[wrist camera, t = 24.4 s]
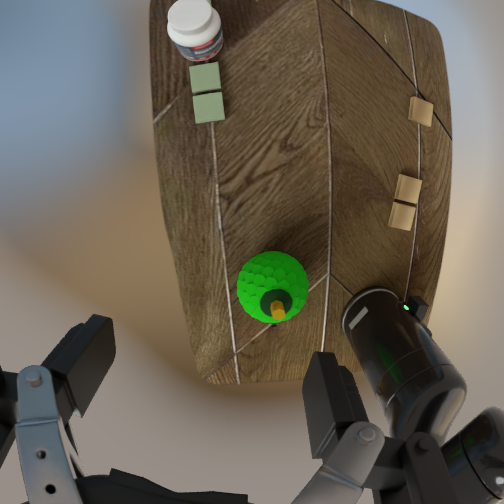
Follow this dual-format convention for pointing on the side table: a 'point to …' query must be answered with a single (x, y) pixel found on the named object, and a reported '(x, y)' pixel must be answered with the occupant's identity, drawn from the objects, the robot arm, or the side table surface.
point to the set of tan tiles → (408, 185)
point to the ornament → (272, 287)
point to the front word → (207, 80)
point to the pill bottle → (195, 29)
